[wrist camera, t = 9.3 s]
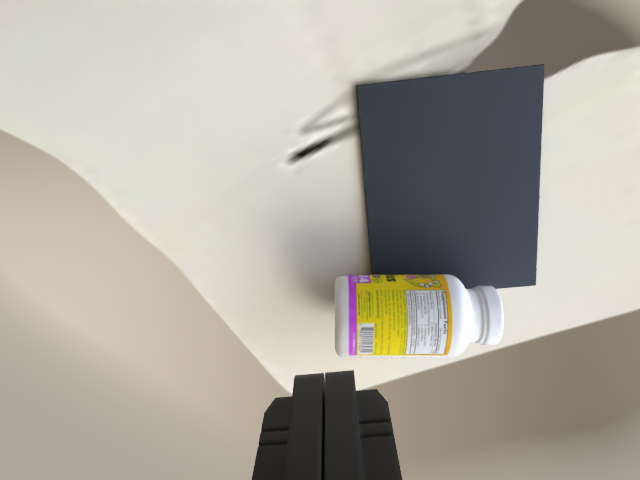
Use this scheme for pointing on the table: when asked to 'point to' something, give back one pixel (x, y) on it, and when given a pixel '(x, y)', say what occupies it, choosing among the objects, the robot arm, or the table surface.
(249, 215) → the table surface
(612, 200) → the table surface
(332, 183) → the table surface
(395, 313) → the supplement bottle
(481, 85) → the mat
